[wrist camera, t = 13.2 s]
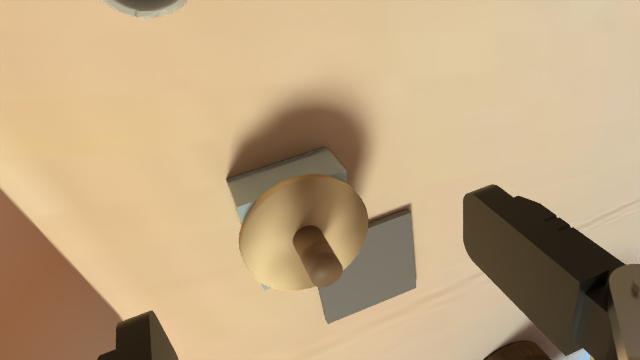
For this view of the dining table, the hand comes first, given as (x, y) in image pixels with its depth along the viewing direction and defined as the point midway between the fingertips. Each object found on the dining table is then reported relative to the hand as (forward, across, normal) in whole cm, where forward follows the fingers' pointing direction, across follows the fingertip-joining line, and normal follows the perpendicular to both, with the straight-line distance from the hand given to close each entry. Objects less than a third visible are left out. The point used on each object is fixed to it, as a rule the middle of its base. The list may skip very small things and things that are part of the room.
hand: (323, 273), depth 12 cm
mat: (+30, -11, +31) cm, 45 cm away
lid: (+25, -4, +19) cm, 32 cm away
